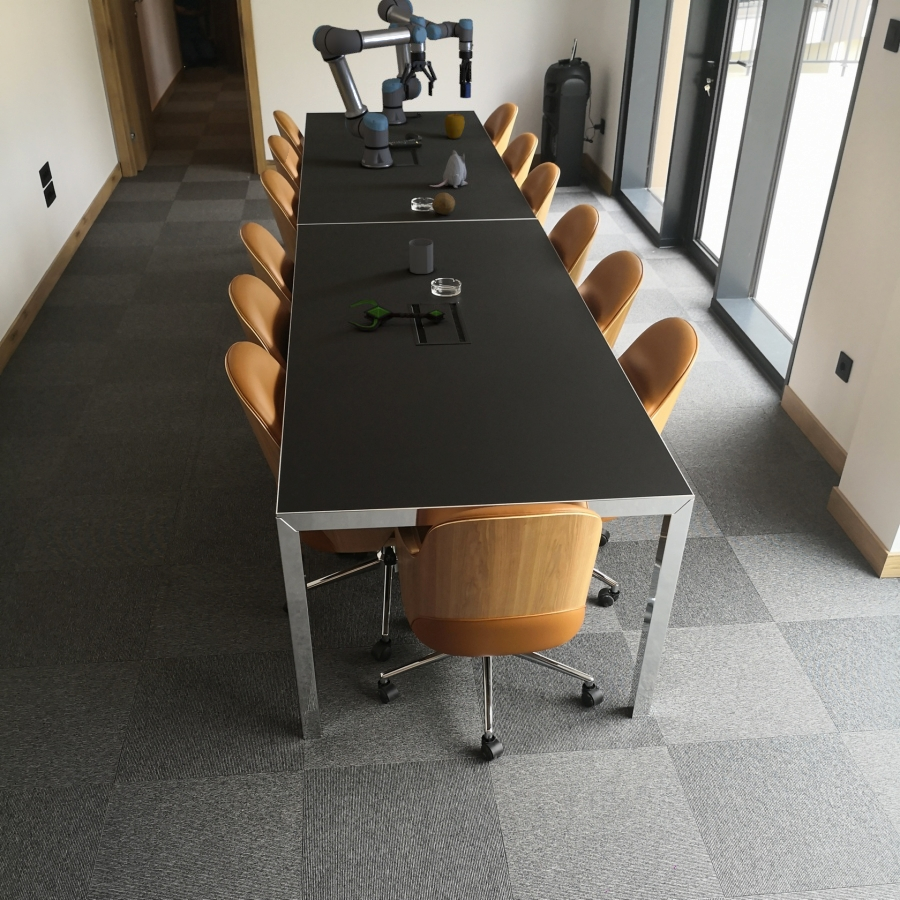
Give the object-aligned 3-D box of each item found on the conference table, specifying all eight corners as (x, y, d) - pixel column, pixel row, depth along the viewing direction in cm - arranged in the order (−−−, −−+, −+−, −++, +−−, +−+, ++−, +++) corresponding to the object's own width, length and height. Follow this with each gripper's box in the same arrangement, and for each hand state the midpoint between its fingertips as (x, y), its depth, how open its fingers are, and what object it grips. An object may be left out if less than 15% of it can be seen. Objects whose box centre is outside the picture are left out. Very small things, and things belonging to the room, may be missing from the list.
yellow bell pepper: (464, 140, 471) (464, 115, 464) (444, 140, 471) (444, 115, 464) (464, 135, 480) (464, 111, 473) (444, 135, 480) (444, 111, 473)
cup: (409, 265, 311) (408, 238, 306) (432, 265, 312) (431, 238, 307) (410, 274, 304) (409, 246, 299) (433, 273, 305) (433, 246, 299)
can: (468, 98, 482) (468, 84, 478) (458, 97, 484) (458, 83, 480) (472, 96, 487) (472, 82, 483) (462, 95, 489) (462, 81, 485)
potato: (453, 208, 369) (453, 189, 365) (456, 218, 357) (456, 199, 353) (431, 208, 368) (430, 189, 364) (432, 218, 356) (432, 199, 352)
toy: (472, 184, 399) (472, 151, 391) (436, 195, 384) (436, 161, 376) (457, 180, 404) (458, 147, 396) (422, 191, 389) (421, 157, 381)
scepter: (445, 294, 271) (348, 292, 269) (446, 325, 264) (347, 323, 262) (443, 307, 276) (349, 305, 274) (445, 338, 269) (347, 336, 267)
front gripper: (435, 48, 437) (436, 93, 448) (392, 52, 426) (393, 98, 437) (443, 50, 431) (443, 95, 443) (399, 54, 420) (400, 100, 432)
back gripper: (466, 53, 464) (465, 99, 476) (478, 48, 479) (477, 93, 491) (453, 52, 466) (453, 98, 478) (465, 47, 481) (464, 92, 493)
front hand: (418, 97), depth 440 cm, fingers open, 13 cm apart
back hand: (465, 95), depth 485 cm, fingers closed on can, 6 cm apart
